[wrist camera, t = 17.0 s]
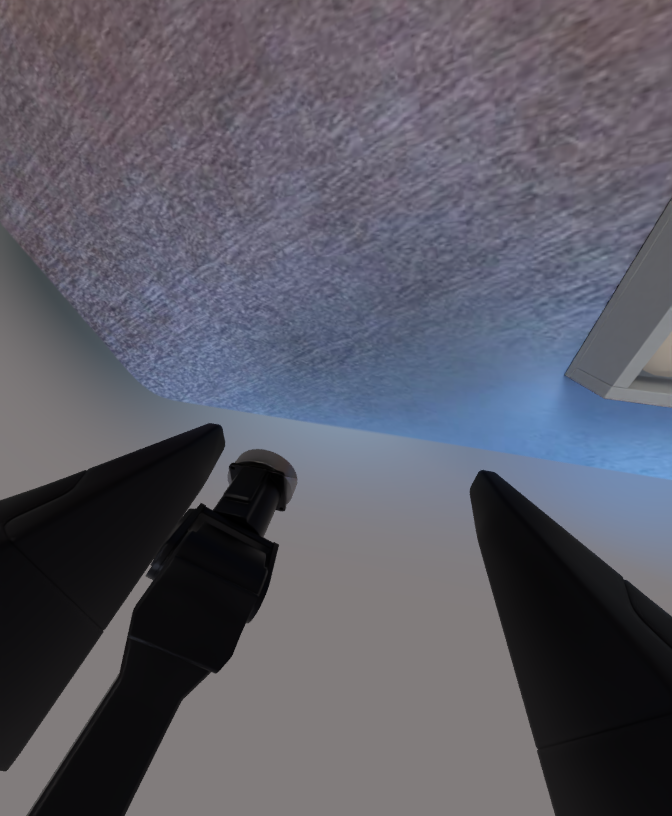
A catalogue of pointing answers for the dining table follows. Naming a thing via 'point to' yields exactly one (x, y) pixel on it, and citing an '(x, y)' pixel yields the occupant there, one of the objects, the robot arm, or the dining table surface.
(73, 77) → the dining table surface
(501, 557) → the robot arm
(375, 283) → the dining table surface
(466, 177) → the dining table surface
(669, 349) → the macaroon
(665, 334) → the tray
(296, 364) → the dining table surface
